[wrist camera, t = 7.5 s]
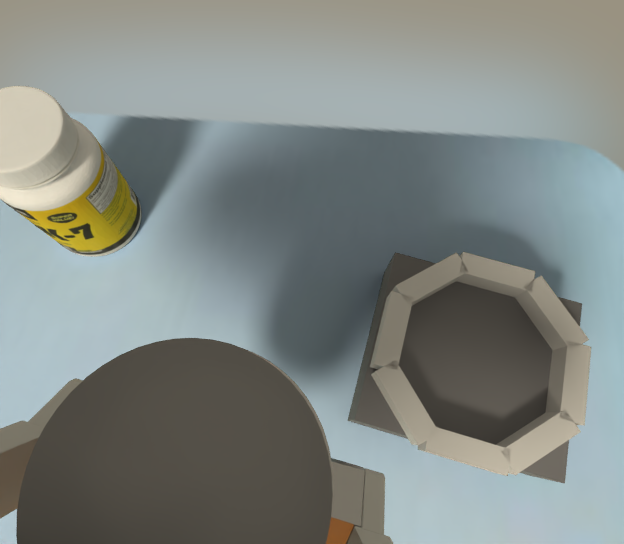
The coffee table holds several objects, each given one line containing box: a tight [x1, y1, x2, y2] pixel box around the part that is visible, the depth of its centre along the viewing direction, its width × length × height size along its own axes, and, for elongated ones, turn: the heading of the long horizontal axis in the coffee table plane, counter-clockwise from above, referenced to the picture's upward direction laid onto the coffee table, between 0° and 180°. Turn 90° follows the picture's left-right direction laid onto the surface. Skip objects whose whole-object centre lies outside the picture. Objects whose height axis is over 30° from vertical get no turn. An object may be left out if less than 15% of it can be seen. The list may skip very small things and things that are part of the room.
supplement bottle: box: [0, 86, 141, 257], centre depth 21 cm, size 5×5×8 cm
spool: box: [16, 338, 333, 544], centre depth 12 cm, size 5×5×9 cm
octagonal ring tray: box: [348, 252, 591, 483], centre depth 21 cm, size 9×9×4 cm
